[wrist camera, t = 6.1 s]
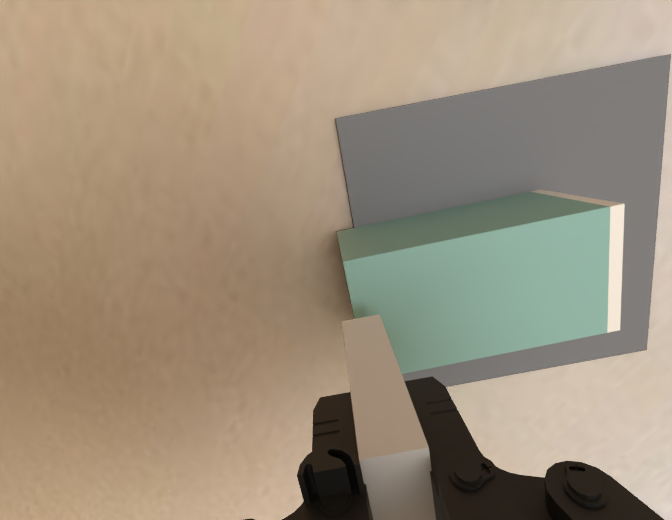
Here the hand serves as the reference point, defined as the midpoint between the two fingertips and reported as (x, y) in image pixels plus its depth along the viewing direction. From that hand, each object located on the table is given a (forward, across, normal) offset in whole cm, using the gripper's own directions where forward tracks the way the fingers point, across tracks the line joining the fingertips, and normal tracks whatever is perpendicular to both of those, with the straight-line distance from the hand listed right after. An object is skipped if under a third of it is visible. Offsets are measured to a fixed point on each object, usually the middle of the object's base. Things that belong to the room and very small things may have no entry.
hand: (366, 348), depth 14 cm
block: (+5, 0, 0) cm, 5 cm away
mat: (+9, +10, 0) cm, 13 cm away
